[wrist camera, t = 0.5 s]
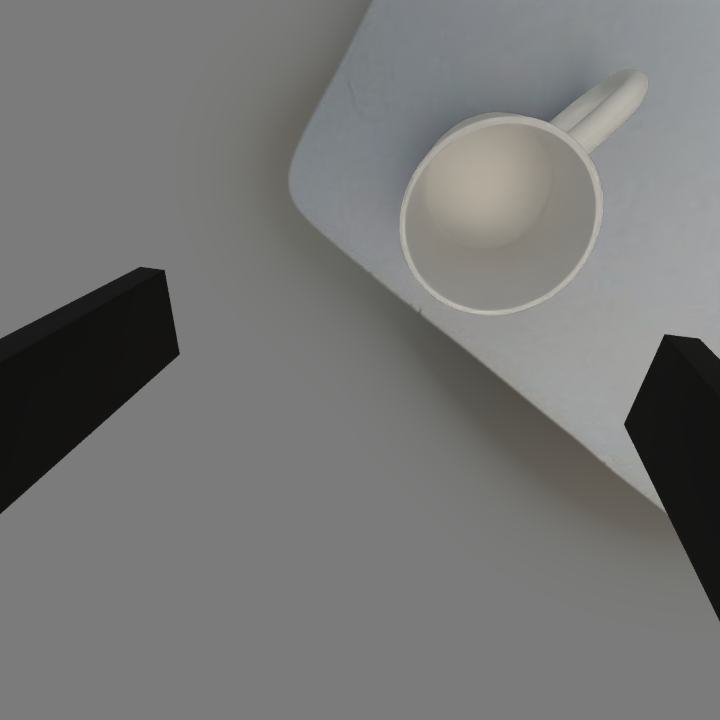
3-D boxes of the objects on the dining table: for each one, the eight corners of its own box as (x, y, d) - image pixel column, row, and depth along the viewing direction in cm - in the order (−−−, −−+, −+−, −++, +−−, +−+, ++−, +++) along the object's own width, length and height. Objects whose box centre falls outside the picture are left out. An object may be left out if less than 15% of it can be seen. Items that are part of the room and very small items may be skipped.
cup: (392, 187, 29) (360, 223, 20) (557, 13, 23) (614, -41, 14) (476, 279, 31) (480, 348, 22) (649, 138, 25) (748, 157, 16)
